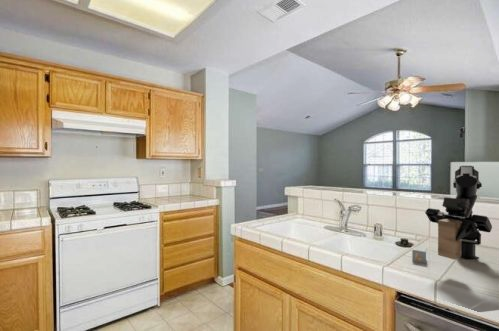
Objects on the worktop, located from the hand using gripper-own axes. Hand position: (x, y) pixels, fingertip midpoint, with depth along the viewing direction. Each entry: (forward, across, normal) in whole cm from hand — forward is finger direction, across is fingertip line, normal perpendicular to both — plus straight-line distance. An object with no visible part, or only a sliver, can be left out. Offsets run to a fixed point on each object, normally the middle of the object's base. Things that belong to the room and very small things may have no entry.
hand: (447, 237), depth 93 cm
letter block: (+5, -13, +14) cm, 20 cm away
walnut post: (+4, 0, +6) cm, 7 cm away
